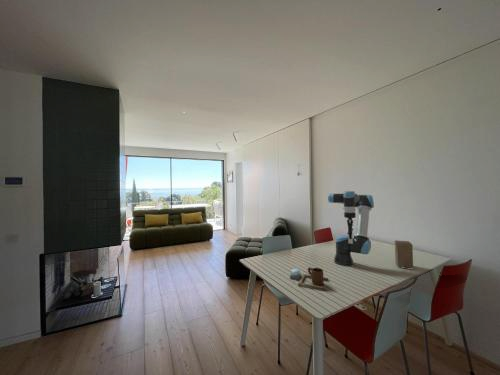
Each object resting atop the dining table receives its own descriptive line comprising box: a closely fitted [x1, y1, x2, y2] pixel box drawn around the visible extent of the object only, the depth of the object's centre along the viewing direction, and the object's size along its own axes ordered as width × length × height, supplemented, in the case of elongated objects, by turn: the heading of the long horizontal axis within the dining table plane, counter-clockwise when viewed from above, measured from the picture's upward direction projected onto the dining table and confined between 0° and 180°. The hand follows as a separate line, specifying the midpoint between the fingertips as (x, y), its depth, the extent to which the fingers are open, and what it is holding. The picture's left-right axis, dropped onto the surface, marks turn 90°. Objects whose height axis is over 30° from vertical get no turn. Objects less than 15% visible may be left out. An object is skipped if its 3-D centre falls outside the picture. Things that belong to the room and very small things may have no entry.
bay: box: [297, 273, 329, 292], centre depth 139 cm, size 17×18×2 cm
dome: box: [291, 268, 301, 276], centre depth 148 cm, size 6×6×3 cm
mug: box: [307, 267, 325, 287], centre depth 139 cm, size 12×8×9 cm, turn 33°
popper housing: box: [289, 272, 303, 281], centre depth 148 cm, size 7×7×2 cm
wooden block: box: [394, 239, 414, 269], centre depth 166 cm, size 10×10×20 cm
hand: (350, 241), depth 148 cm, fingers open, 13 cm apart
